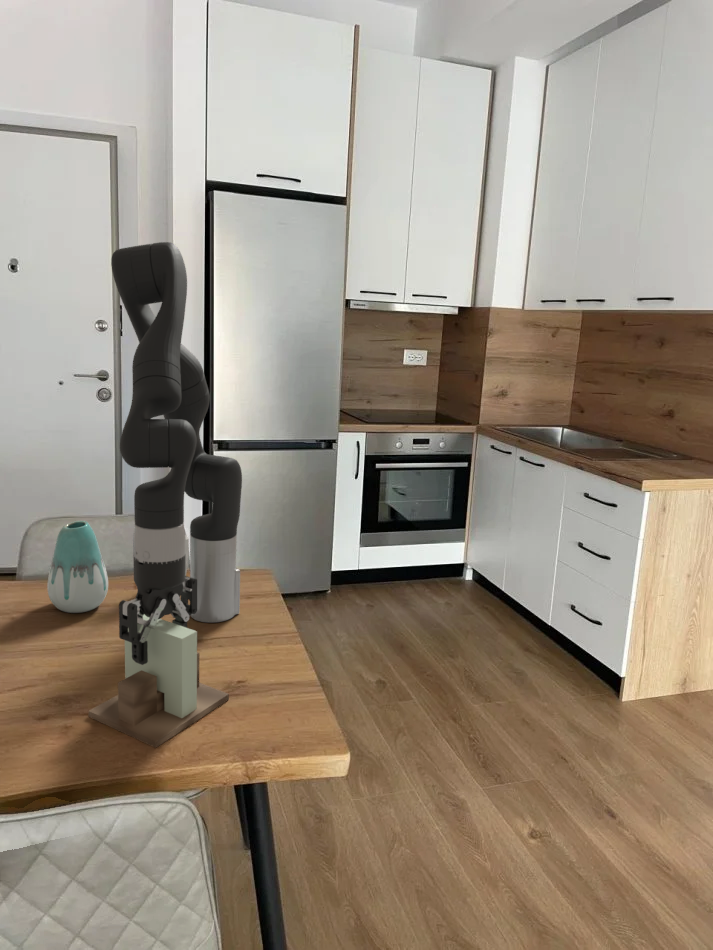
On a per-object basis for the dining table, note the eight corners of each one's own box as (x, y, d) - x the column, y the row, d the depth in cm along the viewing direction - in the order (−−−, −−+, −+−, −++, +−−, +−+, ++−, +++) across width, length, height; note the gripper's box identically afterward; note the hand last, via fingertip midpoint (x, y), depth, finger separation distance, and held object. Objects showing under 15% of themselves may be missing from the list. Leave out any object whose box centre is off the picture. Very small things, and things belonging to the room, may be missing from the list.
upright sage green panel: (140, 686, 116) (139, 611, 114) (196, 708, 111) (197, 631, 108) (125, 694, 114) (124, 618, 111) (182, 718, 108) (182, 638, 105)
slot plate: (165, 674, 122) (164, 636, 121) (228, 699, 116) (229, 659, 114) (88, 716, 109) (87, 674, 107) (155, 747, 102) (155, 703, 101)
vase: (43, 619, 141) (39, 532, 137) (53, 597, 152) (50, 515, 148) (105, 617, 143) (103, 531, 139) (111, 594, 154) (109, 515, 150)
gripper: (175, 535, 114) (175, 630, 118) (103, 559, 102) (106, 663, 106) (211, 544, 111) (210, 642, 114) (141, 570, 99) (143, 678, 102)
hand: (160, 652), depth 110 cm, fingers open, 7 cm apart
